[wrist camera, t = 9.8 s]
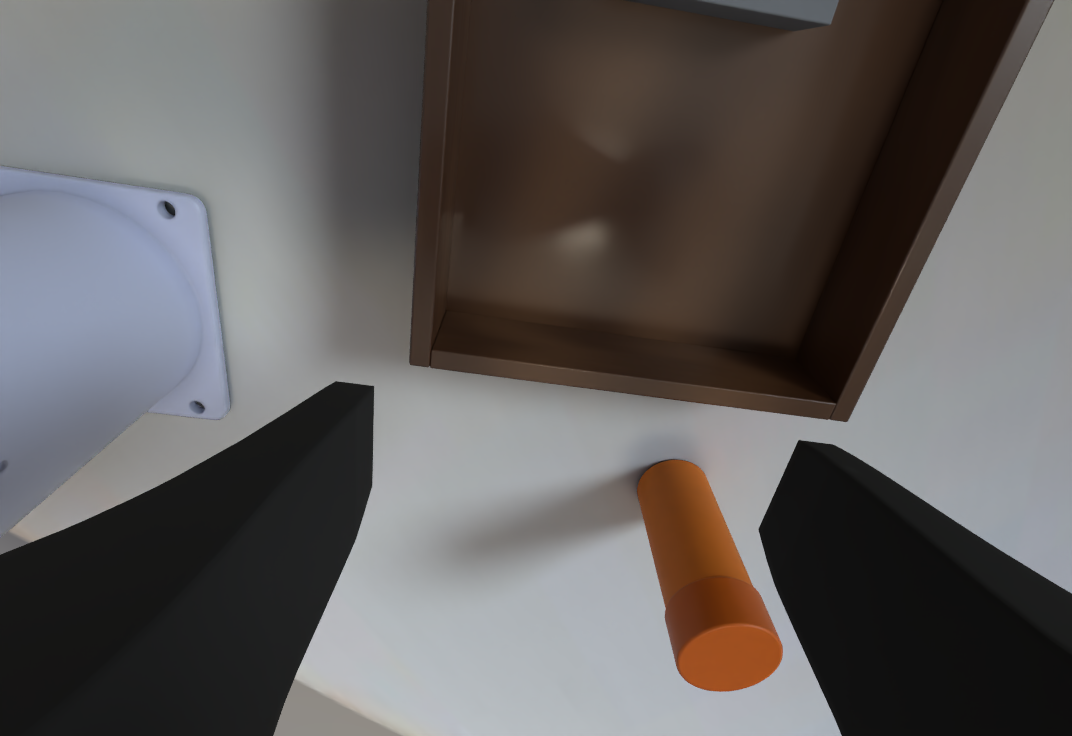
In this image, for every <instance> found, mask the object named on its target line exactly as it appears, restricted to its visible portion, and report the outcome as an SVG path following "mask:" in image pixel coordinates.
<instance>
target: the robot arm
mask: <svg viewBox="0 0 1072 736" xmlns="http://www.w3.org/2000/svg"><path fill="white" fill-rule="evenodd" d="M165 202H169V203H170V204H171V205H172V206H173V207H174V209H175V211H176V213H175V216H174V215H171V214H170V213H169V212H168V211H167V210H166V208H165ZM196 401H198V402H200V403H201V404H203V405H204V408H203V407H200V406H199V405H197V403H196ZM230 406H231V405H230V397H229V389H228V381H227V373H226V364H225V356H224V348H223V340H222V332H221V324H220V316H219V307H218V299H217V291H216V283H215V275H214V267H213V258H212V250H211V242H210V234H209V226H208V218H207V211H206V208H205V206H204V204H203V203H202V202H201V200H200V199H198V198H197V197H196V196H194V195H191V194H188V193H181V192H175V191H168V190H161V189H154V188H148V187H141V186H134V185H127V184H121V183H114V182H107V181H101V180H94V179H87V178H80V177H74V176H67V175H60V174H53V173H47V172H40V171H33V170H26V169H20V168H13V167H6V166H0V538H1V537H2V536H3V535H4V534H5V533H7V532H8V531H9V530H10V529H11V528H12V527H14V526H15V525H16V524H17V523H18V522H19V521H21V520H22V519H23V518H24V517H25V516H26V515H27V514H29V513H30V512H31V511H32V510H33V509H34V508H36V507H37V506H38V505H39V504H40V503H41V502H42V501H44V500H45V499H46V498H47V497H48V496H49V495H51V494H52V493H53V492H54V491H55V490H56V489H58V488H59V487H60V486H61V485H62V484H63V483H64V482H66V481H67V480H68V479H69V478H70V477H71V476H73V475H74V474H75V473H76V472H77V471H78V470H80V469H81V468H82V467H83V466H84V465H85V464H86V463H88V462H89V461H90V460H91V459H92V458H93V457H95V456H96V455H97V454H98V453H99V452H100V451H101V450H103V449H104V448H105V447H106V446H107V445H108V444H110V443H111V442H112V441H113V440H114V439H115V438H117V437H118V436H119V435H120V434H121V433H122V432H123V431H125V430H126V429H127V428H128V427H129V426H130V425H132V424H133V423H134V422H135V421H136V420H137V419H139V418H140V417H141V416H142V415H143V414H144V413H145V412H151V413H160V414H168V415H176V416H185V417H193V418H201V419H210V420H220V419H222V418H224V417H225V416H226V414H227V413H228V412H229V411H230ZM373 415H374V386H368V385H361V384H353V383H345V382H337V381H336V382H334V383H332V384H331V385H329V386H327V387H325V388H324V389H322V390H321V391H319V392H317V393H316V394H314V395H313V396H311V397H310V398H308V399H306V400H305V401H303V402H302V403H300V404H299V405H297V406H296V407H294V408H292V409H291V410H289V411H288V412H286V413H285V414H283V415H281V416H280V417H278V418H277V419H275V420H273V421H272V422H270V423H269V424H267V425H265V426H264V427H262V428H260V429H259V430H257V431H256V432H254V433H252V434H251V435H249V436H248V437H246V438H244V439H243V440H241V441H239V442H238V443H236V444H234V445H232V446H230V447H229V448H227V449H225V450H223V451H221V452H220V453H218V454H216V455H214V456H212V457H211V458H209V459H207V460H205V461H203V462H202V463H200V464H198V465H196V466H194V467H193V468H191V469H189V470H187V471H185V472H184V473H182V474H180V475H178V476H177V477H175V478H173V479H171V480H169V481H167V482H165V483H163V484H161V485H159V486H157V487H155V488H153V489H151V490H149V491H147V492H145V493H143V494H141V495H139V496H137V497H135V498H133V499H131V500H128V501H126V502H124V503H122V504H120V505H117V506H115V507H113V508H111V509H109V510H107V511H104V512H102V513H100V514H98V515H96V516H93V517H91V518H89V519H87V520H85V521H82V522H80V523H78V524H76V525H73V526H71V527H69V528H66V529H64V530H61V531H59V532H56V533H54V534H51V535H49V536H46V537H44V538H41V539H39V540H36V541H34V542H31V543H29V544H26V545H24V546H21V547H19V548H16V549H14V550H11V551H8V552H6V553H4V554H1V555H0V736H273V735H274V732H275V729H276V726H277V722H278V720H279V717H280V714H281V711H282V708H283V706H284V703H285V700H286V698H287V695H288V693H289V690H290V688H291V685H292V683H293V680H294V678H295V675H296V673H297V670H298V668H299V666H300V664H301V661H302V659H303V657H304V655H305V653H306V650H307V648H308V646H309V644H310V641H311V639H312V637H313V635H314V632H315V630H316V628H317V626H318V624H319V621H320V619H321V617H322V615H323V612H324V610H325V608H326V606H327V603H328V601H329V599H330V597H331V595H332V592H333V590H334V588H335V586H336V583H337V581H338V579H339V577H340V574H341V572H342V570H343V568H344V565H345V563H346V561H347V558H348V556H349V554H350V552H351V549H352V547H353V545H354V542H355V540H356V537H357V534H358V531H359V528H360V524H361V521H362V518H363V515H364V512H365V508H366V505H367V501H368V498H369V495H370V491H371V488H372V471H373ZM759 533H760V537H761V540H762V544H763V548H764V551H765V555H766V559H767V562H768V565H769V568H770V572H771V575H772V578H773V581H774V584H775V587H776V589H777V591H778V594H779V596H780V598H781V601H782V603H783V605H784V607H785V610H786V612H787V614H788V616H789V619H790V621H791V623H792V625H793V628H794V630H795V632H796V634H797V637H798V639H799V641H800V643H801V645H802V648H803V650H804V652H805V654H806V656H807V658H808V661H809V663H810V665H811V667H812V669H813V672H814V674H815V676H816V678H817V680H818V683H819V685H820V687H821V689H822V691H823V694H824V696H825V698H826V700H827V702H828V705H829V707H830V709H831V711H832V713H833V716H834V718H835V720H836V723H837V725H838V727H839V730H840V732H841V735H842V736H1072V593H1070V592H1068V591H1066V590H1065V589H1063V588H1061V587H1059V586H1058V585H1056V584H1054V583H1053V582H1051V581H1049V580H1048V579H1046V578H1045V577H1043V576H1041V575H1040V574H1038V573H1036V572H1035V571H1033V570H1031V569H1030V568H1028V567H1027V566H1025V565H1023V564H1022V563H1020V562H1018V561H1017V560H1015V559H1013V558H1012V557H1010V556H1009V555H1007V554H1005V553H1004V552H1002V551H1000V550H999V549H997V548H996V547H994V546H993V545H991V544H989V543H988V542H986V541H985V540H983V539H982V538H980V537H978V536H977V535H975V534H974V533H972V532H971V531H969V530H968V529H966V528H965V527H963V526H961V525H960V524H958V523H957V522H955V521H954V520H952V519H951V518H949V517H948V516H946V515H945V514H943V513H942V512H940V511H939V510H937V509H936V508H934V507H933V506H931V505H930V504H928V503H926V502H925V501H923V500H922V499H920V498H919V497H917V496H916V495H914V494H913V493H911V492H910V491H908V490H907V489H905V488H904V487H902V486H901V485H899V484H898V483H896V482H895V481H893V480H892V479H890V478H889V477H887V476H885V475H884V474H882V473H881V472H879V471H878V470H876V469H874V468H873V467H871V466H870V465H868V464H866V463H865V462H863V461H862V460H860V459H858V458H857V457H855V456H853V455H851V454H850V453H848V452H846V451H844V450H842V449H840V448H838V447H837V446H835V445H832V444H824V443H817V442H809V441H801V440H799V441H798V443H797V445H796V447H795V449H794V452H793V454H792V456H791V458H790V461H789V463H788V465H787V467H786V469H785V472H784V474H783V476H782V478H781V481H780V483H779V485H778V487H777V489H776V492H775V494H774V496H773V498H772V501H771V503H770V505H769V507H768V509H767V512H766V514H765V516H764V518H763V521H762V523H761V525H760V527H759Z"/></svg>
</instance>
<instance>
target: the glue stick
mask: <svg viewBox="0 0 1072 736" xmlns="http://www.w3.org/2000/svg"><path fill="white" fill-rule="evenodd" d="M637 494H638V499H639V503H640V507H641V511H642V515H643V519H644V523H645V527H646V531H647V535H648V539H649V543H650V547H651V551H652V555H653V559H654V563H655V567H656V571H657V575H658V579H659V583H660V587H661V591H662V595H663V599H664V603H665V607H666V611H665V621H666V625H667V629H668V633H669V637H670V642H671V646H672V650H673V654H674V658H675V662H676V666H677V669H678V671H679V673H680V675H681V676H682V677H683V678H684V679H685V680H686V681H687V682H688V683H690V684H691V685H693V686H695V687H698V688H701V689H704V690H709V691H720V692H721V691H734V690H740V689H743V688H747V687H750V686H753V685H755V684H757V683H759V682H761V681H763V680H764V679H766V678H767V677H769V676H770V675H771V674H772V673H773V672H774V671H775V670H776V669H777V667H778V666H779V664H780V662H781V660H782V654H783V648H782V644H781V641H780V639H779V636H778V634H777V632H776V630H775V627H774V625H773V623H772V620H771V618H770V616H769V614H768V611H767V609H766V607H765V604H764V602H763V600H762V598H761V595H760V594H759V592H758V591H757V590H756V589H755V588H754V587H753V585H752V583H751V581H750V578H749V576H748V574H747V571H746V569H745V567H744V564H743V562H742V560H741V557H740V555H739V553H738V550H737V548H736V546H735V543H734V541H733V539H732V536H731V534H730V532H729V529H728V527H727V525H726V522H725V520H724V518H723V515H722V513H721V511H720V508H719V506H718V504H717V501H716V499H715V497H714V494H713V492H712V490H711V487H710V485H709V483H708V481H707V478H706V476H705V474H704V472H703V471H702V470H701V469H700V468H699V467H698V466H696V465H694V464H693V463H690V462H688V461H683V460H668V461H664V462H661V463H658V464H656V465H654V466H652V467H651V468H650V469H648V470H647V471H646V472H645V473H644V474H643V476H642V477H641V479H640V481H639V483H638V487H637Z"/></svg>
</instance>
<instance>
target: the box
mask: <svg viewBox="0 0 1072 736" xmlns="http://www.w3.org/2000/svg"><path fill="white" fill-rule="evenodd" d="M1053 2H1054V0H839V1H838V4H837V7H836V10H835V13H834V16H833V19H832V22H831V24H830V25H828V26H822V27H816V28H811V29H805V30H799V31H789V30H784V29H778V28H773V27H767V26H762V25H756V24H751V23H745V22H740V21H735V20H729V19H724V18H718V17H713V16H707V15H702V14H696V13H691V12H685V11H680V10H674V9H669V8H664V7H658V6H653V5H647V4H642V3H636V2H631V1H625V0H428V1H427V21H426V40H425V60H424V80H423V100H422V119H421V139H420V159H419V179H418V199H417V218H416V238H415V258H414V278H413V298H412V317H411V337H410V357H409V363H410V365H415V366H422V367H429V366H430V367H431V368H435V369H443V370H451V371H458V372H466V373H474V374H481V375H489V376H497V377H504V378H512V379H520V380H527V381H535V382H543V383H550V384H558V385H566V386H573V387H581V388H589V389H596V390H604V391H612V392H619V393H627V394H635V395H642V396H650V397H658V398H665V399H673V400H681V401H688V402H696V403H704V404H711V405H719V406H727V407H734V408H742V409H750V410H757V411H765V412H773V413H780V414H788V415H796V416H803V417H811V418H818V419H826V420H828V419H830V420H835V421H843V422H847V421H848V420H849V418H850V416H851V414H852V412H853V410H854V408H855V406H856V404H857V402H858V399H859V397H860V395H861V393H862V391H863V389H864V387H865V385H866V383H867V381H868V379H869V377H870V375H871V373H872V371H873V369H874V367H875V365H876V363H877V361H878V359H879V357H880V355H881V353H882V351H883V349H884V346H885V344H886V342H887V340H888V338H889V336H890V334H891V332H892V330H893V328H894V326H895V324H896V322H897V320H898V318H899V316H900V314H901V312H902V310H903V308H904V306H905V304H906V302H907V300H908V298H909V296H910V293H911V291H912V289H913V287H914V285H915V283H916V281H917V279H918V277H919V275H920V273H921V271H922V269H923V267H924V265H925V263H926V261H927V259H928V257H929V255H930V253H931V251H932V249H933V247H934V245H935V242H936V240H937V238H938V236H939V234H940V232H941V230H942V228H943V226H944V224H945V222H946V220H947V218H948V216H949V214H950V212H951V210H952V208H953V206H954V204H955V202H956V200H957V198H958V196H959V194H960V192H961V189H962V187H963V185H964V183H965V181H966V179H967V177H968V175H969V173H970V171H971V169H972V167H973V165H974V163H975V161H976V159H977V157H978V155H979V153H980V151H981V149H982V147H983V145H984V143H985V141H986V139H987V136H988V134H989V132H990V130H991V128H992V126H993V124H994V122H995V120H996V118H997V116H998V114H999V112H1000V110H1001V108H1002V106H1003V104H1004V102H1005V100H1006V98H1007V96H1008V94H1009V92H1010V90H1011V88H1012V85H1013V83H1014V81H1015V79H1016V77H1017V75H1018V73H1019V71H1020V69H1021V67H1022V65H1023V63H1024V61H1025V59H1026V57H1027V55H1028V53H1029V51H1030V49H1031V47H1032V45H1033V43H1034V41H1035V39H1036V37H1037V35H1038V32H1039V30H1040V28H1041V26H1042V24H1043V22H1044V20H1045V18H1046V16H1047V14H1048V12H1049V10H1050V8H1051V6H1052V4H1053Z"/></svg>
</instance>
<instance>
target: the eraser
mask: <svg viewBox="0 0 1072 736" xmlns="http://www.w3.org/2000/svg"><path fill="white" fill-rule="evenodd" d="M625 1H631V2H636V3H642V4H647V5H653V6H658V7H664V8H669V9H674V10H680V11H685V12H691V13H696V14H702V15H707V16H713V17H718V18H724V19H729V20H735V21H740V22H745V23H751V24H756V25H762V26H767V27H773V28H778V29H784V30H789V31H799V30H805V29H811V28H816V27H822V26H828V25H830V24H831V22H832V19H833V16H834V13H835V10H836V7H837V4H838V1H839V0H625Z"/></svg>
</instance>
